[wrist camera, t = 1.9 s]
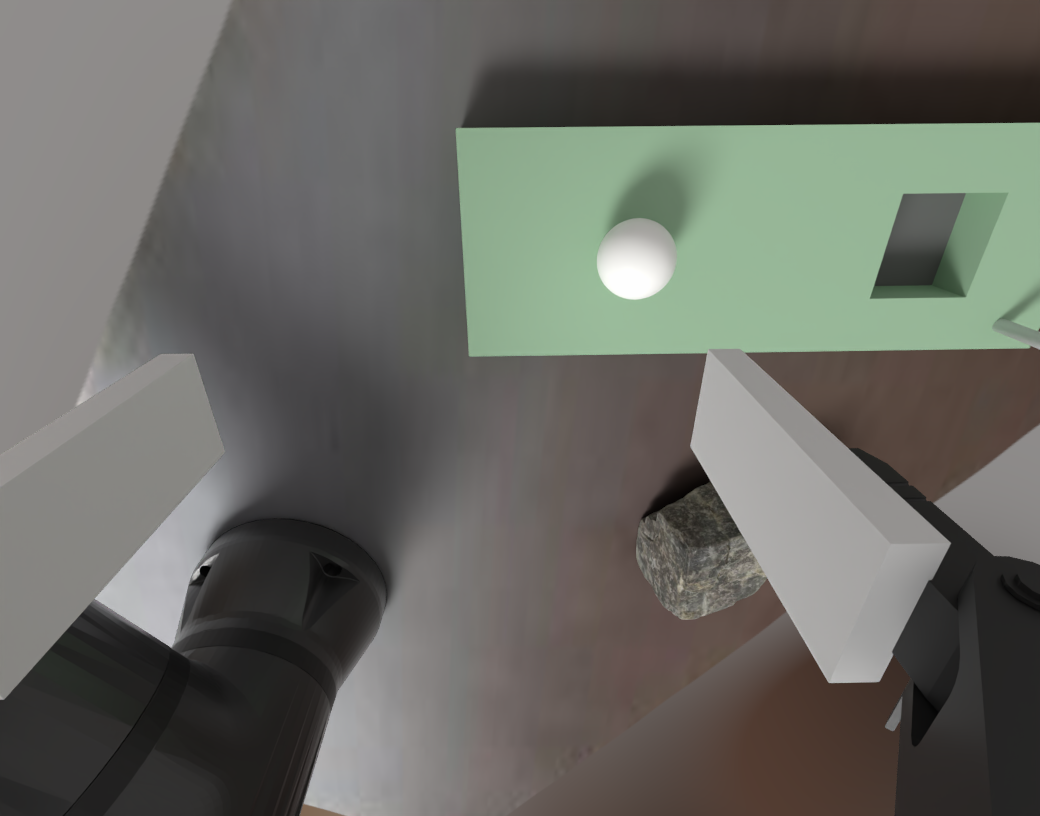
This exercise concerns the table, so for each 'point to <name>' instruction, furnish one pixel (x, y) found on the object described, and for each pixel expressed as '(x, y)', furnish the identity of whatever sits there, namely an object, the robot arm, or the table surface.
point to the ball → (636, 258)
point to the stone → (697, 556)
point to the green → (755, 237)
